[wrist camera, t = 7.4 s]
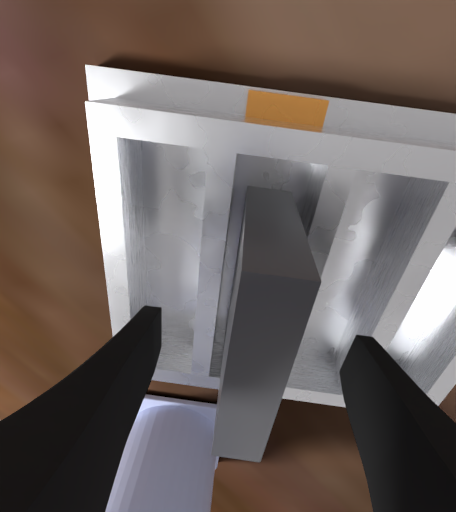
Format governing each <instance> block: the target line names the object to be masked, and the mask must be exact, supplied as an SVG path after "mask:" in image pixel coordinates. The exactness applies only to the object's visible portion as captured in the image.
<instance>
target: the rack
mask: <svg viewBox="0 0 456 512" xmlns="http://www.w3.org/2000/svg"><path fill="white" fill-rule="evenodd" d="M85 69H86V78H87V87H88V95H89V101H85V107H86V115H87V123H88V132H89V140H90V149H91V157H92V165H93V174H94V182H95V191H96V199H97V208H98V216H99V224H100V233H101V241H102V250H103V258H104V267H105V275H106V283H107V292H108V300H109V309H110V317H111V326H112V334H113V336H114V335H115V334H117V333H118V332H119V331H120V330H121V329H122V328H123V327H124V326H125V325H126V324H127V323H128V322H129V321H130V320H131V319H132V318H133V317H134V316H135V314H136V313H137V312H138V311H139V310H140V309H141V308H142V307H143V306H145V305H147V306H154V307H162V347H161V351H160V354H159V358H158V361H157V365H156V368H155V372H154V375H153V377H152V380H156V381H163V382H170V383H177V384H184V385H191V386H198V387H205V388H212V389H219V383H220V374H221V365H222V357H223V348H224V340H225V331H226V324H227V318H228V311H229V304H230V298H231V291H232V284H233V278H234V271H235V265H236V258H237V251H238V245H239V238H240V231H241V225H242V218H243V212H244V205H245V198H246V192H247V186H254V187H262V188H269V189H276V190H284V191H291V192H292V195H293V198H294V201H295V204H296V207H297V210H298V213H299V216H300V219H301V222H302V225H303V228H304V231H305V234H306V237H307V240H308V243H309V246H310V249H311V252H312V255H313V258H314V261H315V264H316V267H317V270H318V273H319V276H320V279H321V285H320V288H319V291H318V294H317V297H316V300H315V303H314V305H313V308H312V311H311V314H310V317H309V320H308V323H307V326H306V329H305V332H304V335H303V338H302V341H301V344H300V347H299V350H298V353H297V356H296V359H295V361H294V364H293V367H292V370H291V373H290V376H289V379H288V382H287V385H286V388H285V391H284V394H283V397H282V398H283V399H290V400H297V401H304V402H311V403H318V404H325V405H332V406H339V407H346V406H345V402H344V398H343V393H342V387H341V380H340V374H339V371H340V369H341V366H342V364H343V362H344V360H345V358H346V356H347V353H348V351H349V349H350V347H351V345H352V343H353V340H354V338H355V336H356V335H363V336H371V337H374V339H375V340H376V341H377V342H378V343H379V344H380V345H381V346H382V347H383V348H384V349H385V350H386V351H387V352H388V354H389V355H390V356H391V357H392V358H393V359H394V360H395V361H396V362H397V363H398V365H399V366H400V367H401V368H402V369H403V370H404V371H405V372H406V373H407V374H408V376H409V377H410V378H411V379H412V380H413V381H414V382H415V383H416V384H417V385H418V386H419V387H420V388H421V389H422V390H423V391H424V393H425V394H426V395H427V396H428V397H429V398H430V399H431V400H432V401H433V402H434V403H435V404H436V405H437V406H439V404H440V403H441V402H442V401H443V399H444V398H445V397H446V396H447V394H448V393H449V392H450V390H451V389H452V388H453V387H454V385H455V384H456V113H448V112H441V111H433V110H426V109H418V108H411V107H403V106H396V105H388V104H381V103H373V102H366V101H358V100H351V99H343V98H336V97H328V96H320V95H313V94H305V93H298V92H290V91H283V90H275V89H268V88H260V87H253V86H245V85H238V84H230V83H223V82H215V81H208V80H200V79H193V78H185V77H178V76H170V75H163V74H155V73H148V72H140V71H133V70H125V69H117V68H110V67H102V66H94V65H85Z"/></svg>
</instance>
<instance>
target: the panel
mask: <svg viewBox="0 0 456 512" xmlns="http://www.w3.org/2000/svg"><path fill="white" fill-rule="evenodd" d="M320 285H321V279H320V276H319V273H318V270H317V267H316V264H315V261H314V258H313V255H312V252H311V249H310V246H309V243H308V240H307V237H306V234H305V231H304V228H303V225H302V222H301V219H300V216H299V213H298V210H297V207H296V204H295V201H294V198H293V195H292V192H291V191H284V190H276V189H269V188H262V187H254V186H247V192H246V198H245V205H244V212H243V218H242V225H241V231H240V238H239V245H238V251H237V258H236V265H235V271H234V278H233V284H232V291H231V298H230V304H229V311H228V318H227V324H226V331H225V340H224V348H223V357H222V365H221V374H220V383H219V391H218V400H217V408H216V417H215V425H214V434H213V443H212V451H211V455H212V456H219V457H226V458H233V459H239V460H246V461H253V462H261V459H262V456H263V453H264V450H265V447H266V444H267V441H268V438H269V435H270V432H271V429H272V426H273V423H274V420H275V417H276V415H277V412H278V409H279V406H280V403H281V400H282V397H283V394H284V391H285V388H286V385H287V382H288V379H289V376H290V373H291V370H292V367H293V364H294V361H295V359H296V356H297V353H298V350H299V347H300V344H301V341H302V338H303V335H304V332H305V329H306V326H307V323H308V320H309V317H310V314H311V311H312V308H313V305H314V303H315V300H316V297H317V294H318V291H319V288H320Z"/></svg>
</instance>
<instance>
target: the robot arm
mask: <svg viewBox="0 0 456 512" xmlns="http://www.w3.org/2000/svg"><path fill="white" fill-rule="evenodd" d="M161 347H162V307H154V306H147V305H145V306H143V307H142V308H141V309H140V310H139V311H138V312H137V313H136V314H135V316H134V317H133V318H132V319H131V320H130V321H129V322H128V323H127V324H126V325H125V326H124V327H123V328H122V329H121V330H120V331H119V332H118V333H117V334H115V335H114V336H113V337H112V338H111V339H110V340H109V341H108V342H107V343H106V344H105V345H104V346H103V347H102V348H100V349H99V350H98V351H97V352H96V353H95V354H93V355H92V356H91V357H90V358H89V359H88V360H86V361H85V362H84V363H83V364H82V365H80V366H79V367H78V368H77V369H76V370H74V371H73V372H72V373H70V374H69V375H68V376H67V377H65V378H64V379H63V380H61V381H60V382H59V383H57V384H56V385H54V386H53V387H52V388H50V389H49V390H47V391H46V392H45V393H43V394H42V395H40V396H39V397H37V398H36V399H34V400H33V401H31V402H30V403H28V404H27V405H25V406H24V407H22V408H21V409H19V410H18V411H16V412H15V413H13V414H11V415H10V416H8V417H6V418H5V419H3V420H1V421H0V512H210V510H211V500H212V490H213V480H214V471H215V469H216V468H217V465H218V460H219V456H212V455H211V451H212V443H213V434H214V425H215V417H216V408H217V404H211V403H204V402H197V401H190V400H183V399H176V398H169V397H162V396H155V395H148V394H146V392H147V390H148V387H149V385H150V382H151V380H152V377H153V375H154V372H155V368H156V365H157V361H158V358H159V354H160V351H161ZM339 374H340V380H341V387H342V393H343V398H344V402H345V406H346V409H347V413H348V416H349V420H350V423H351V426H352V430H353V433H354V436H355V440H356V443H357V447H358V450H359V453H360V457H361V460H362V463H363V467H364V471H365V475H366V478H367V483H368V487H369V492H370V497H371V502H372V507H373V512H456V423H455V422H454V421H453V420H452V419H451V418H449V417H448V416H447V415H446V414H445V413H444V412H443V411H442V410H441V409H440V408H439V407H438V406H437V405H436V404H435V403H434V402H433V401H432V400H431V399H430V398H429V397H428V396H427V395H426V394H425V393H424V391H423V390H422V389H421V388H420V387H419V386H418V385H417V384H416V383H415V382H414V381H413V380H412V379H411V378H410V377H409V376H408V374H407V373H406V372H405V371H404V370H403V369H402V368H401V367H400V366H399V365H398V363H397V362H396V361H395V360H394V359H393V358H392V357H391V356H390V355H389V354H388V352H387V351H386V350H385V349H384V348H383V347H382V346H381V345H380V344H379V343H378V342H377V341H376V340H375V339H374V337H371V336H363V335H356V336H355V338H354V340H353V343H352V345H351V347H350V349H349V351H348V353H347V356H346V358H345V360H344V362H343V364H342V366H341V369H340V371H339Z"/></svg>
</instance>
